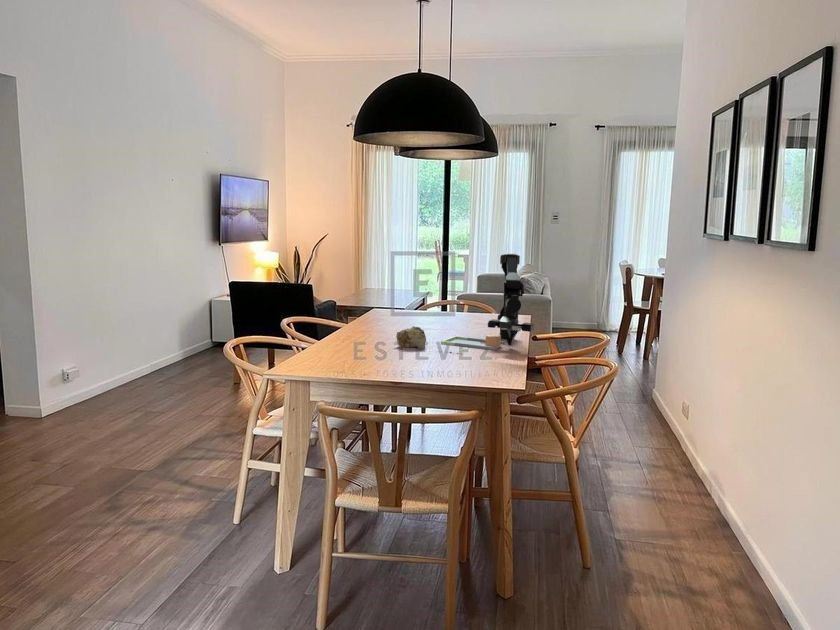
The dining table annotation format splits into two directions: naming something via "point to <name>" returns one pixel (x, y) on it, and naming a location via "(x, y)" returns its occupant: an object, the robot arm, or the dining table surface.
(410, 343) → the rock
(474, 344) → the box
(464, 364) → the dining table surface
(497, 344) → the block
